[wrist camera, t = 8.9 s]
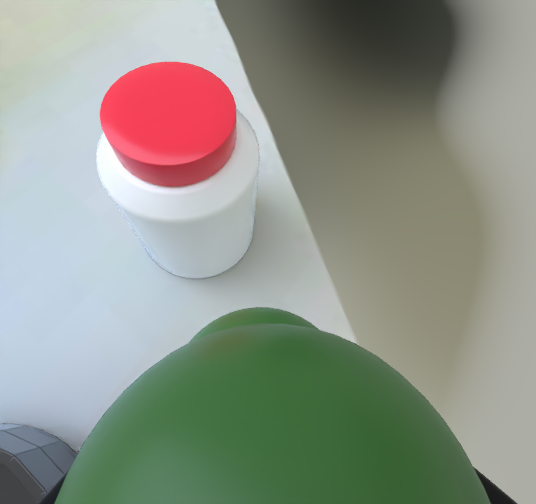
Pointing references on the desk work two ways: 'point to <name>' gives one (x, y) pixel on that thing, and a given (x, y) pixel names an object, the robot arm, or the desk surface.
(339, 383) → the broccoli
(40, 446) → the pan
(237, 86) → the desk surface
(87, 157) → the desk surface
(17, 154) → the desk surface
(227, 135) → the pill bottle
